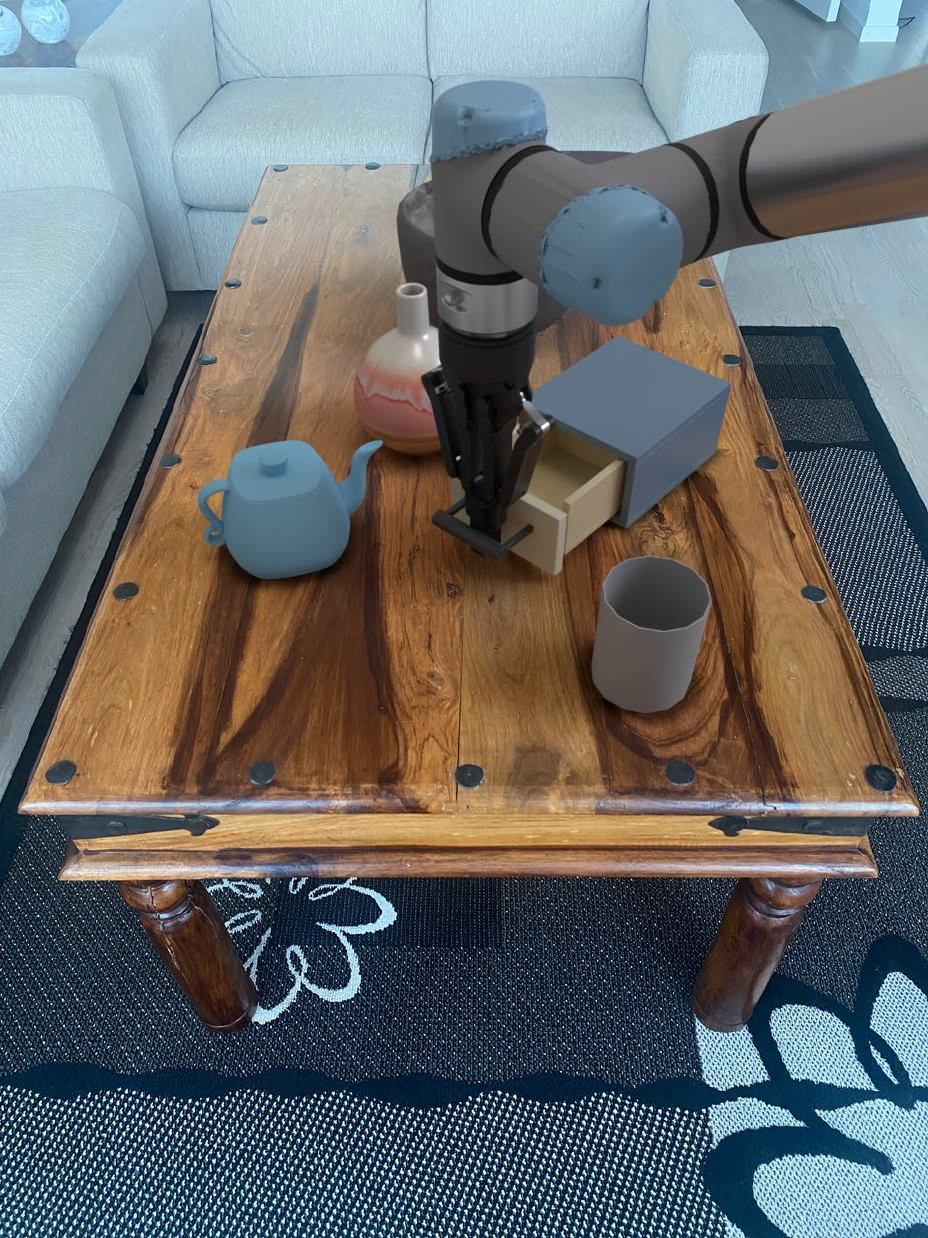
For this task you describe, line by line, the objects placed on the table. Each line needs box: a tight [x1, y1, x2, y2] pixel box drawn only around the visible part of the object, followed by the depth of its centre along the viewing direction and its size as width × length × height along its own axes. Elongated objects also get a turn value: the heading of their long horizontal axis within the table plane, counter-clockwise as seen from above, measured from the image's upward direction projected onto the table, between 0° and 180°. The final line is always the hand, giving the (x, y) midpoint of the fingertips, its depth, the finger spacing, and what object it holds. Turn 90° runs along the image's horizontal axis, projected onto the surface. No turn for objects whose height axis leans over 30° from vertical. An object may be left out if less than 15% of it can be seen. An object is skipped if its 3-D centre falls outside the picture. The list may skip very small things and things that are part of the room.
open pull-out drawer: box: [431, 423, 628, 577], centre depth 89 cm, size 21×13×7 cm, turn 138°
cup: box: [590, 554, 713, 714], centre depth 75 cm, size 8×8×10 cm
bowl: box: [396, 179, 569, 335], centre depth 115 cm, size 24×24×15 cm
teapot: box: [196, 439, 383, 580], centre depth 87 cm, size 13×11×18 cm
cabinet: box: [517, 335, 732, 530], centre depth 96 cm, size 17×14×9 cm
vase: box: [352, 282, 442, 457], centre depth 96 cm, size 14×14×18 cm
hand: (485, 546), depth 87 cm, fingers closed
